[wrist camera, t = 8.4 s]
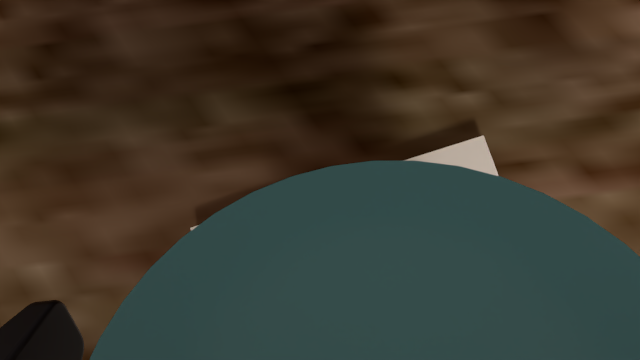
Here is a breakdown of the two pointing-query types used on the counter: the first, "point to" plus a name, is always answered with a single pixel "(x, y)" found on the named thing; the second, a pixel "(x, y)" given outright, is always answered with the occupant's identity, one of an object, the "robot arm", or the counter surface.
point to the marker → (386, 275)
